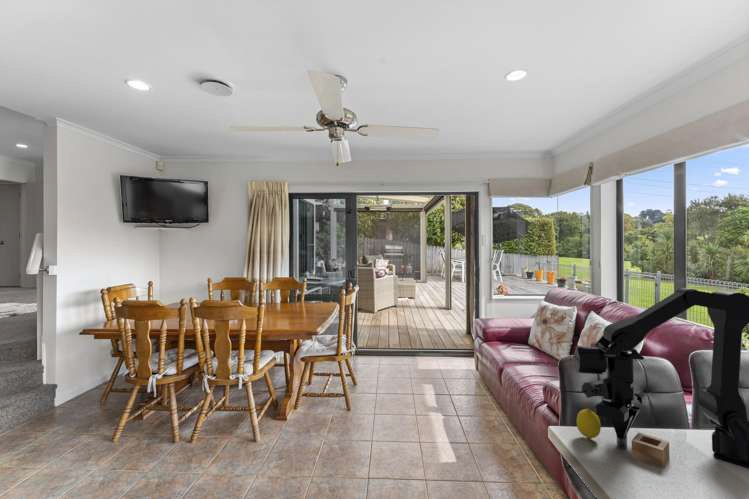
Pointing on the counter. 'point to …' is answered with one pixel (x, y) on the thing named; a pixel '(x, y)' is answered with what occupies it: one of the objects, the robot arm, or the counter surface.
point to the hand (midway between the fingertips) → (621, 437)
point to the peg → (622, 442)
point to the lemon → (588, 423)
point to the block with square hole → (650, 449)
